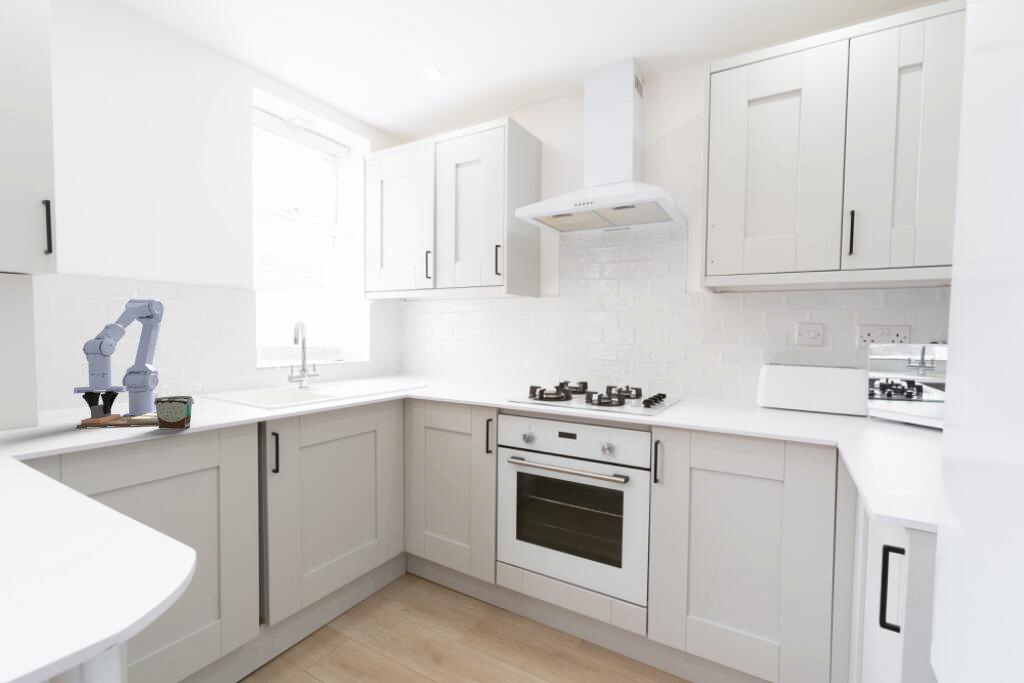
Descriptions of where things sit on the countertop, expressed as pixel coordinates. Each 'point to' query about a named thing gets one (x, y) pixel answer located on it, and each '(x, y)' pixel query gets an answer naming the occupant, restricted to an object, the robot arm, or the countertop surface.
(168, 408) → the food container
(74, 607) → the countertop surface
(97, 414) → the pink grey stepped block
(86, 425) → the board
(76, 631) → the countertop surface
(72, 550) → the countertop surface
